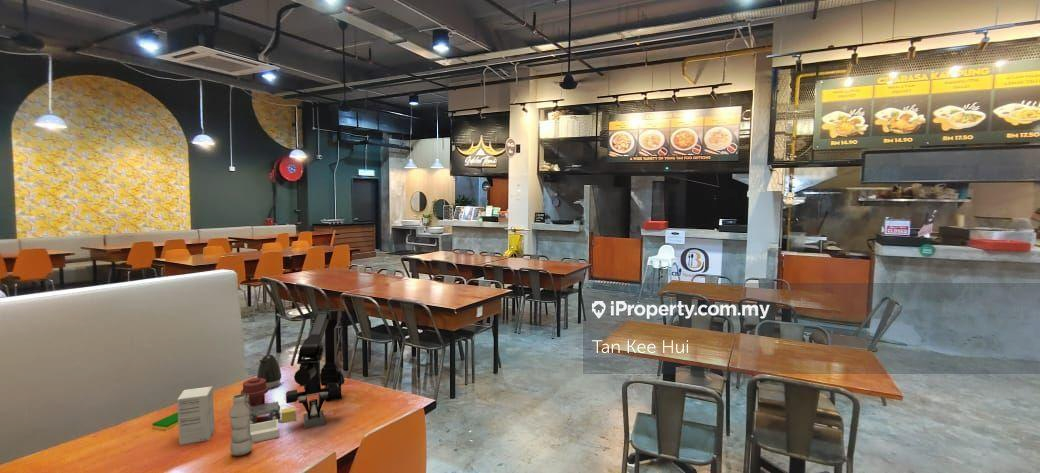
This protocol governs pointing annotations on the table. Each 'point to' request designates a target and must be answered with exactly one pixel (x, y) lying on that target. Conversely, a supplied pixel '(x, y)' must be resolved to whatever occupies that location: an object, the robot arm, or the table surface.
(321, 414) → the pin bracket
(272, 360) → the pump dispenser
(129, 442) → the table surface
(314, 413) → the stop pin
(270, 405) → the trolley
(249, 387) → the mechanical component
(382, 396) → the table surface
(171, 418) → the dish sponge
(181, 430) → the supplement box
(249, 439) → the plastic bottle
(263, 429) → the tray
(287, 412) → the block
